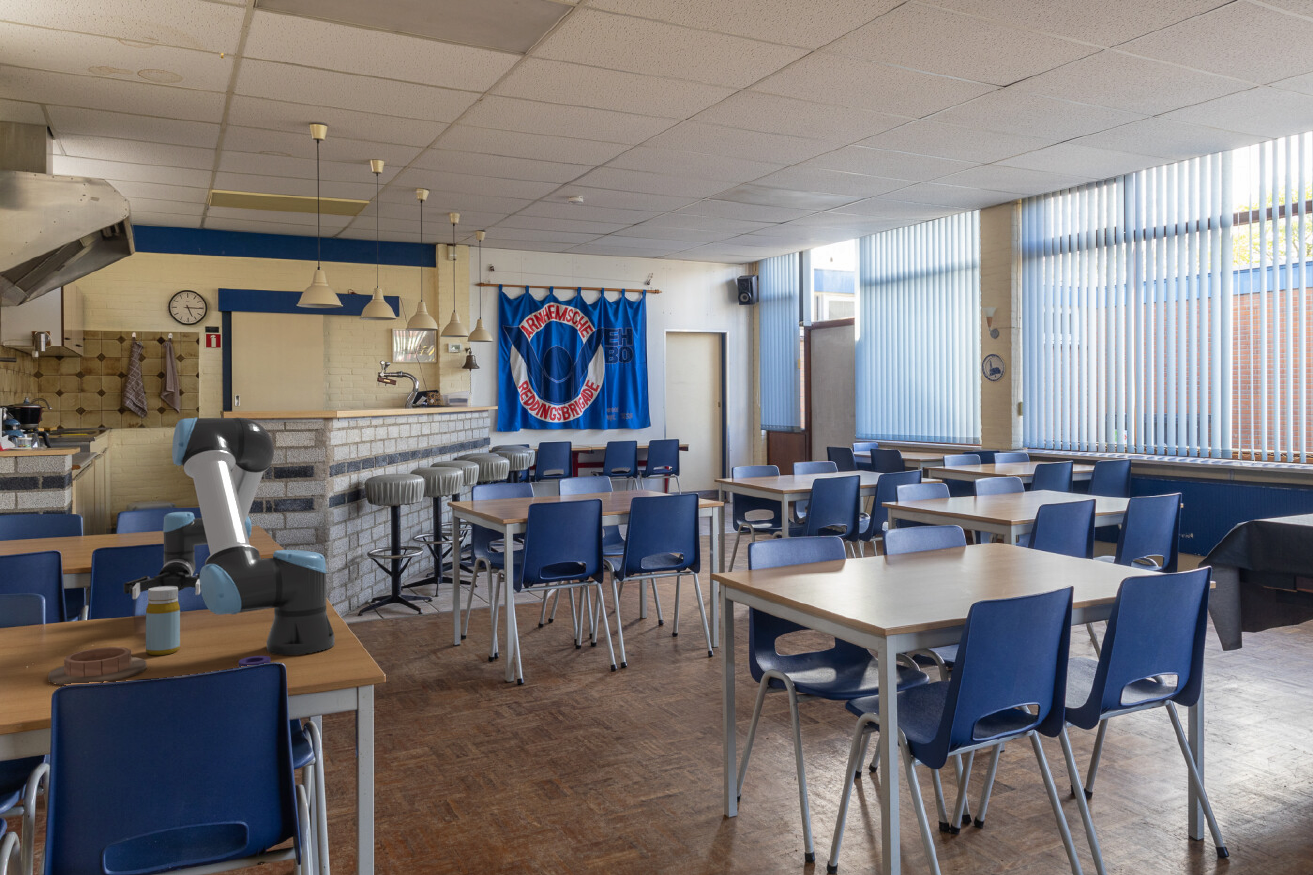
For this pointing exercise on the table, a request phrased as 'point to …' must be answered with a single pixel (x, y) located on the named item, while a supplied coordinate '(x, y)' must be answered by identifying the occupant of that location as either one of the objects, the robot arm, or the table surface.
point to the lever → (254, 660)
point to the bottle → (162, 621)
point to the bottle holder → (97, 666)
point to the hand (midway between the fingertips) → (166, 591)
